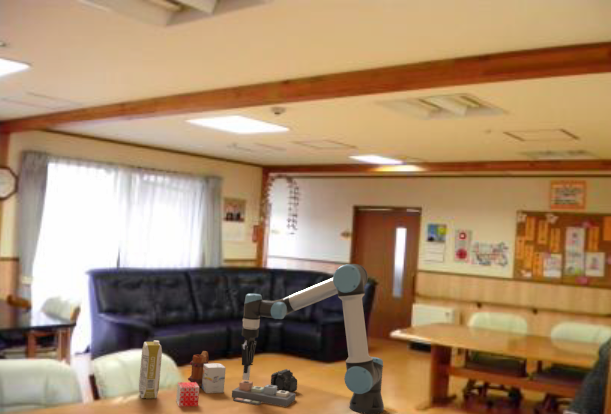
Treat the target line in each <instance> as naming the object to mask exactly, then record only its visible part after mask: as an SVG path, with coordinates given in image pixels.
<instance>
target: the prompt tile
mask: <svg viewBox="0 0 611 414" xmlns="http://www.w3.org/2000/svg"><path fill="white" fill-rule="evenodd" d="M233 401H234V402H238V403H243V404H249V405H256V406H260V405H261V404H262V402H259V401H253V400H248V399H242V398H233Z"/></svg>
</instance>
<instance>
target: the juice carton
mask: <svg viewBox="0 0 611 414" xmlns="http://www.w3.org/2000/svg"><path fill="white" fill-rule="evenodd" d="M162 356H163V349H162V345H161V344H160V340H153V341H144V342H143V345H142V349H141V358H140V359H141V360H140V369H139V379H138V380H139V381H138V390H139V396H140V398H141V399H142V398H146V399H157V397H158V394H159V389H160V379H161V378H160V377H161V367H162V358H163V357H162Z"/></svg>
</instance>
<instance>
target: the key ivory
mask: <svg viewBox="0 0 611 414" xmlns="http://www.w3.org/2000/svg"><path fill="white" fill-rule="evenodd" d="M276 396H280V397H288V396H289V392H288V391H283V390H279V389H278V392H276Z"/></svg>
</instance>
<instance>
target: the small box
mask: <svg viewBox="0 0 611 414" xmlns="http://www.w3.org/2000/svg"><path fill="white" fill-rule="evenodd" d="M199 396H200V387H199V386H198V384H197V383H196V382H190V381H189V382H188V381H187V382H179V381H178V382H177V389H176V398H175V401H176V403H177V405H178V407H198V406H199Z"/></svg>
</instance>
